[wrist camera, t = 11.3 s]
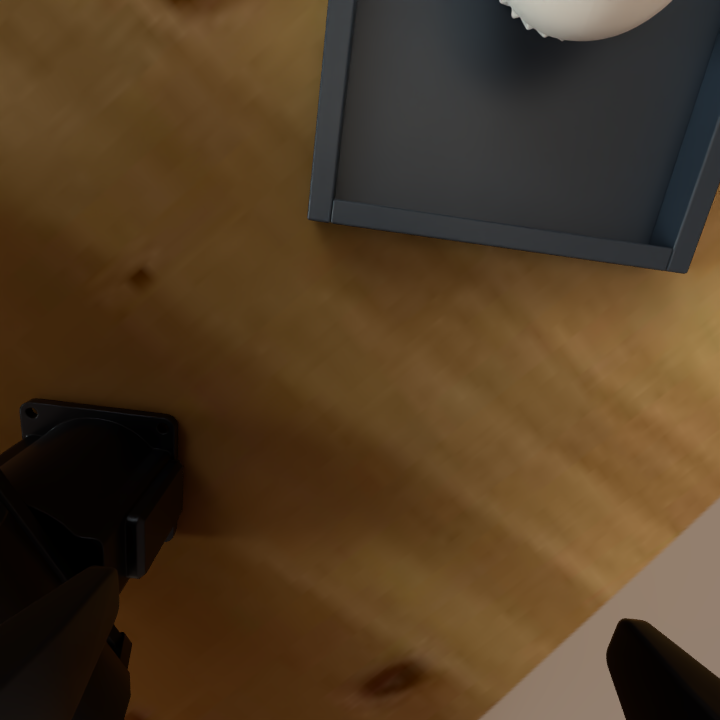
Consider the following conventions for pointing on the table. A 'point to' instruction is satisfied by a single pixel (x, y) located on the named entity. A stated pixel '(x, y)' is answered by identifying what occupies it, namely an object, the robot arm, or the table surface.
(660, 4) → the muffin
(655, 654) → the robot arm
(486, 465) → the table surface
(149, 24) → the table surface
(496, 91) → the tray
